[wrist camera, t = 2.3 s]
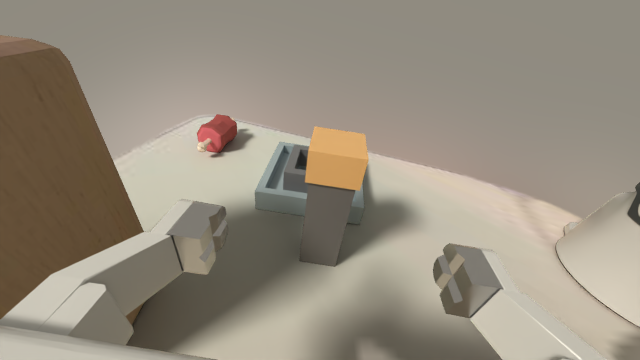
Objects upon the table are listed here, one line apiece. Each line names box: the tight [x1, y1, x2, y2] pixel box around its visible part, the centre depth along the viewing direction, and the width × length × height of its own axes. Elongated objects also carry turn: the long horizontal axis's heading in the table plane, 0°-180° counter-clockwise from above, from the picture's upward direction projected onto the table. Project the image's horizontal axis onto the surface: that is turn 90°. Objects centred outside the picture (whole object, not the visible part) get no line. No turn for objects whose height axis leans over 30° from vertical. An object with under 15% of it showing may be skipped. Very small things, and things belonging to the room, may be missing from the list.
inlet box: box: [255, 142, 364, 224], centre depth 37 cm, size 14×14×4 cm
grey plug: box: [299, 127, 368, 267], centre depth 24 cm, size 5×5×14 cm
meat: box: [197, 114, 237, 153], centre depth 43 cm, size 12×5×5 cm, turn 172°
